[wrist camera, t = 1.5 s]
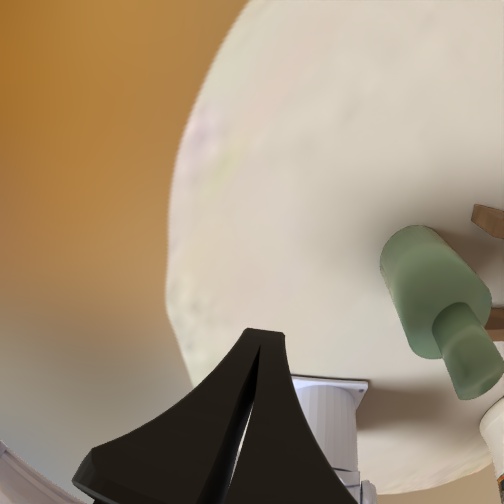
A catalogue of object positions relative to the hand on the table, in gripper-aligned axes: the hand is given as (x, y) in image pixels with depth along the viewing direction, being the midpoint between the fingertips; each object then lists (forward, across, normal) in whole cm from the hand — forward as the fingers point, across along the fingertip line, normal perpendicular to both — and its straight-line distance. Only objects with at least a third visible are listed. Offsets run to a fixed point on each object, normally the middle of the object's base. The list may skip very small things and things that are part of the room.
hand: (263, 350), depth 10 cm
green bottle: (+10, -9, 0) cm, 13 cm away
